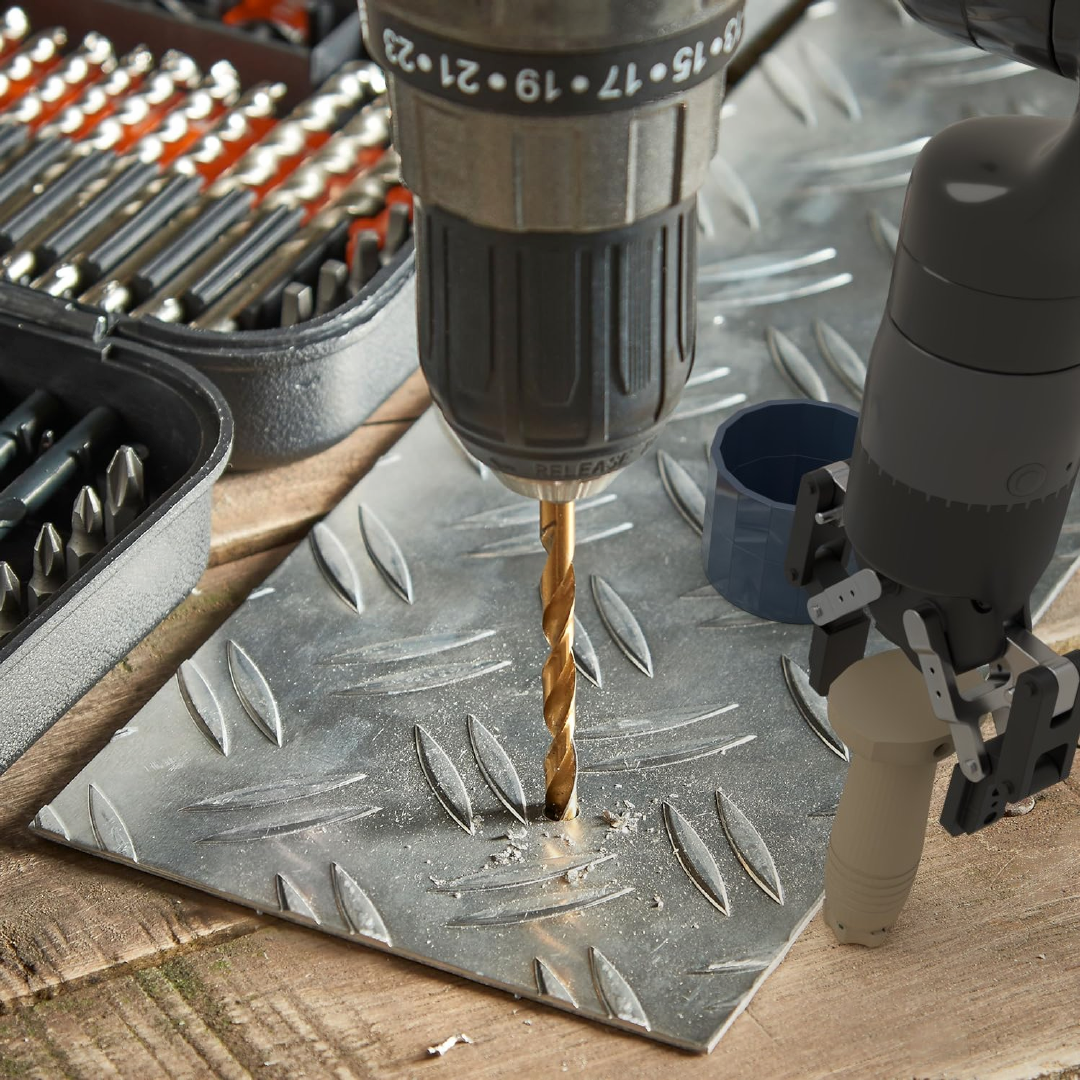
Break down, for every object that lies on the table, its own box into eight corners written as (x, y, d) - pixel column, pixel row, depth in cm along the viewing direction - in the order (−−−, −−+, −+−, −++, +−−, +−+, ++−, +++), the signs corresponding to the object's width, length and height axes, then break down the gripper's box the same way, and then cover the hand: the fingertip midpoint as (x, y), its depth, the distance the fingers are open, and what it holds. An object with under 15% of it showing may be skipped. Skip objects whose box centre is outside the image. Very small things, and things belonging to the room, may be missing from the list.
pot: (721, 493, 94) (732, 385, 89) (891, 524, 92) (913, 416, 87) (684, 603, 87) (694, 492, 82) (869, 640, 84) (891, 528, 79)
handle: (770, 904, 71) (808, 675, 61) (888, 861, 73) (943, 632, 63) (824, 988, 68) (873, 759, 58) (946, 940, 69) (1014, 712, 60)
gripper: (1209, 513, 49) (1088, 839, 59) (922, 305, 58) (862, 617, 69) (1030, 587, 46) (936, 915, 57) (759, 355, 56) (722, 673, 66)
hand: (895, 751), depth 63 cm, fingers open, 8 cm apart
